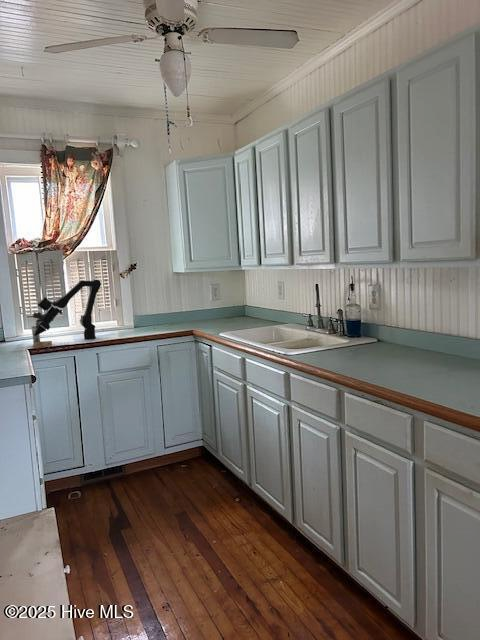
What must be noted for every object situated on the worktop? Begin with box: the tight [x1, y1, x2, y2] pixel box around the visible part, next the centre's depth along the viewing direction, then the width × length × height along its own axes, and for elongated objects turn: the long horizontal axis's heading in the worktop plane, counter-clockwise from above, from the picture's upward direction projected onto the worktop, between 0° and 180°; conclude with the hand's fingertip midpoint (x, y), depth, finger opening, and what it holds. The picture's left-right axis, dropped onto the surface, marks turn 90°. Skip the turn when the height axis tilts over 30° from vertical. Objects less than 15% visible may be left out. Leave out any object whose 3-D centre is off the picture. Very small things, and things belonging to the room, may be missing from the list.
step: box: [32, 340, 53, 349], centre depth 294 cm, size 9×9×2 cm
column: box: [31, 325, 41, 345], centre depth 300 cm, size 4×4×12 cm
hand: (33, 334), depth 299 cm, fingers open, 7 cm apart
